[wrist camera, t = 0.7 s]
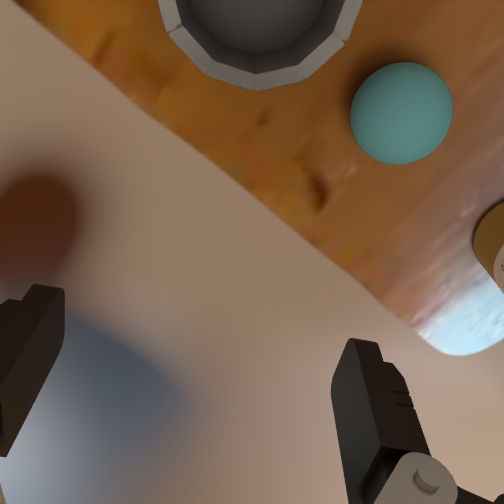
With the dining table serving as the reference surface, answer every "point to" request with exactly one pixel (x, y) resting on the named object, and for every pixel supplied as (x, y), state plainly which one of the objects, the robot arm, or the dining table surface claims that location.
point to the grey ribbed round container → (259, 37)
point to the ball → (401, 113)
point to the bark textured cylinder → (491, 244)
